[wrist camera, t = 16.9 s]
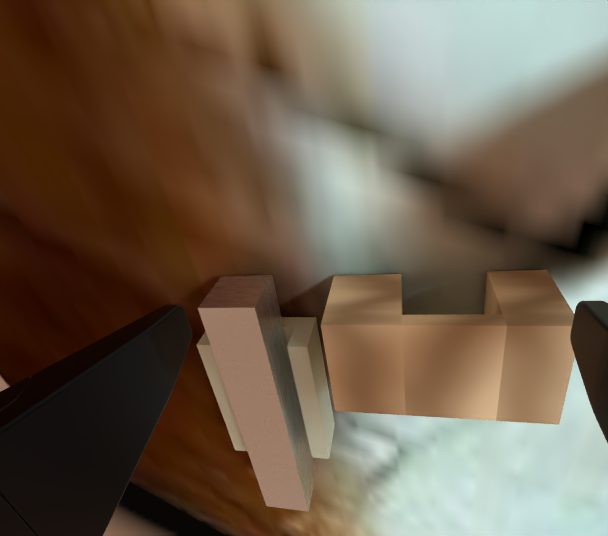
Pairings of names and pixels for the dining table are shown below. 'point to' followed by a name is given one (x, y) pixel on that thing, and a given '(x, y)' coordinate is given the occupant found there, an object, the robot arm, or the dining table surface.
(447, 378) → the tan u-shaped block
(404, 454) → the dining table surface
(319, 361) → the cradle
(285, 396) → the pinkish brown square bar
